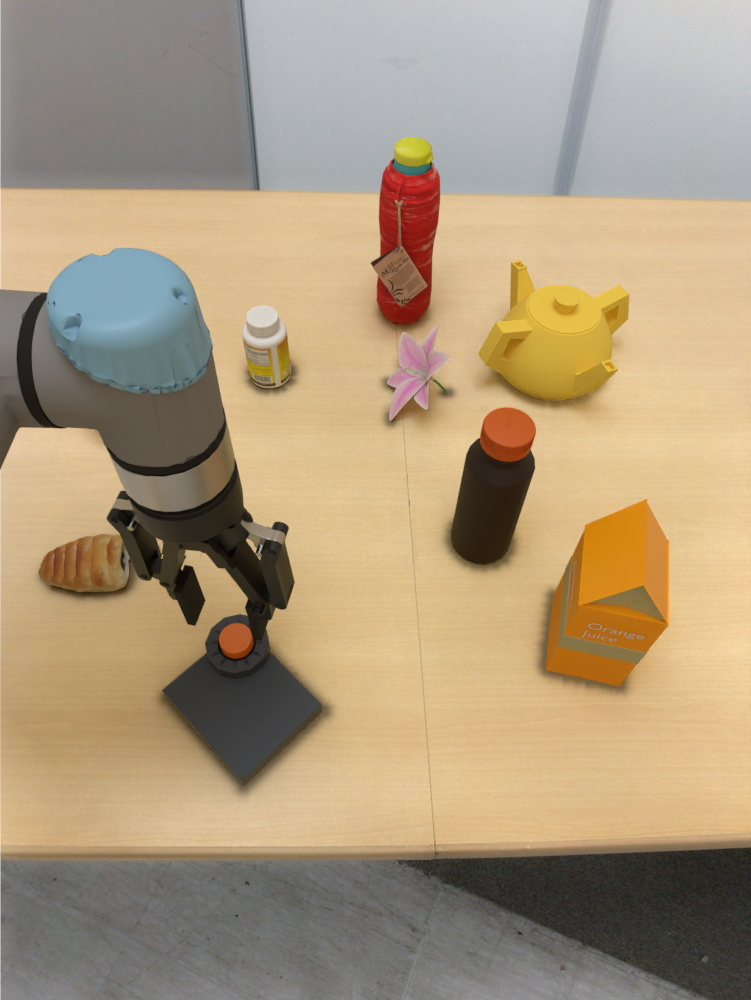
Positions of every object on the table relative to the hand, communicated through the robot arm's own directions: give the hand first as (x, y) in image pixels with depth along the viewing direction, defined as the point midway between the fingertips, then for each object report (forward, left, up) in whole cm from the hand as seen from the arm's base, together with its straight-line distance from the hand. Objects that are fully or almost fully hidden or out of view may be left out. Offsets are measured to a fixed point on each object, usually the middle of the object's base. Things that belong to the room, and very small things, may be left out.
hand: (229, 619), depth 69 cm
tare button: (0, 0, -6) cm, 6 cm away
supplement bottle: (-28, +28, -9) cm, 41 cm away
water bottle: (-23, +48, -9) cm, 55 cm away
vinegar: (+8, +28, -9) cm, 31 cm away
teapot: (-3, +56, -9) cm, 57 cm away
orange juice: (+24, +27, -9) cm, 37 cm away
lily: (-12, +39, -9) cm, 42 cm away
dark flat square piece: (+4, -3, -9) cm, 10 cm away
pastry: (-19, -5, -9) cm, 22 cm away
